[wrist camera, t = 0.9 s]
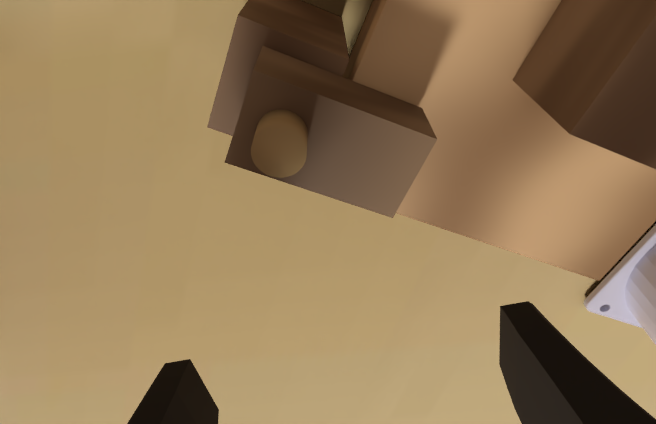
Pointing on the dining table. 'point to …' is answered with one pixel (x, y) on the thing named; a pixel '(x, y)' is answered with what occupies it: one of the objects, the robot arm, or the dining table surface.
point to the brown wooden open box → (281, 48)
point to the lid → (527, 120)
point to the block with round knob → (329, 134)
